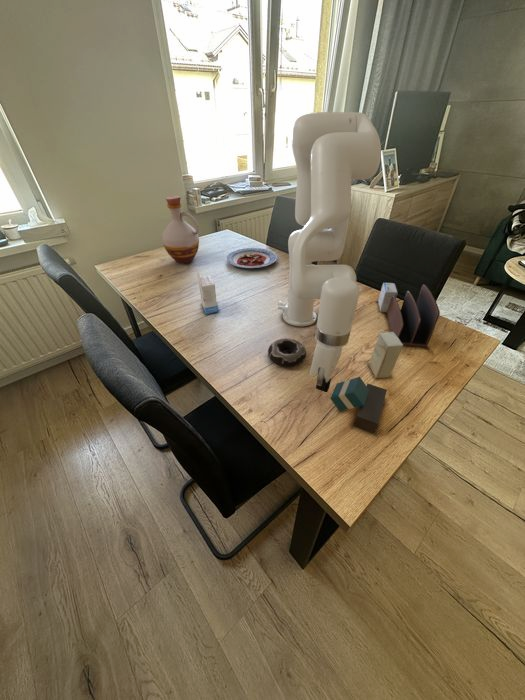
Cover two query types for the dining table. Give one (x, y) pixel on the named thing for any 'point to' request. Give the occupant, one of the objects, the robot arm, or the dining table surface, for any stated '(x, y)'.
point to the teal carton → (350, 394)
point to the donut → (287, 359)
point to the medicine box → (386, 296)
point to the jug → (180, 233)
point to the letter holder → (414, 318)
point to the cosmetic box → (385, 354)
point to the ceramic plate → (251, 258)
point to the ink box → (207, 294)
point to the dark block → (371, 409)
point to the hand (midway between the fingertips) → (322, 388)
